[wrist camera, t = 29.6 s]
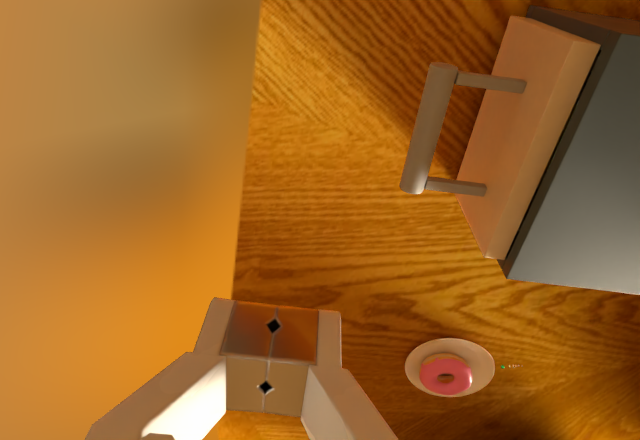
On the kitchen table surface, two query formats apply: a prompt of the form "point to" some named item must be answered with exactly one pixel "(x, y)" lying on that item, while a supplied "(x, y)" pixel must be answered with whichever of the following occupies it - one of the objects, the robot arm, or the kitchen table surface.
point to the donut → (450, 367)
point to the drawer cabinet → (590, 172)
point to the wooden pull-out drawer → (503, 127)
